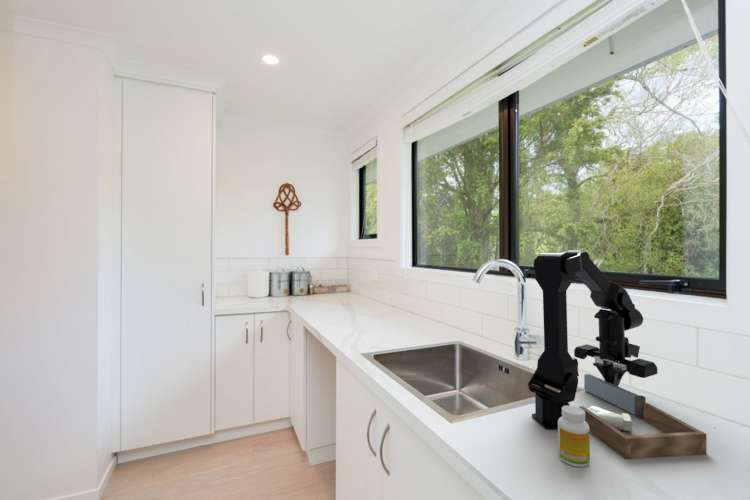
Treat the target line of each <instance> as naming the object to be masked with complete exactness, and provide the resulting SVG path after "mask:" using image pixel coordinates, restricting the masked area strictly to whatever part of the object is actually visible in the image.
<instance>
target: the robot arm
mask: <svg viewBox="0 0 750 500" xmlns="http://www.w3.org/2000/svg"><path fill="white" fill-rule="evenodd" d="M533 271H534V278H535V281H536V282H537V284H538V286H539V287H540V289H541V291H542V310H543V345H544V346H543V347H544V348H543V349H544V350H543V352H542V353H541V355H539V357H538V358H537V362H536V363H537V365H536V369H535V371H534V372H533V374H532V376H531V378H530V379H529V381H528V383H527V386H528V390H529V392H531V393H534V396H535V397H534V398H535V402H534V404H535V406H534V407H535V408H534V409H535V412H534V413H531V417H532V418H533V419H534V420H536V421H537V423H539V424H540V425H541V426H542V427H543V428H544V429H546V430H553V429H554V430H558V420H559V418H560V417H562V407H563V406H567V405H570V406H571V404H570V403H571V402H575V399H576V396H577V395H576V394H577V391H578V390H577V389H578V384H579V378H578V377H579V376H580V375H579V361H578V359H580V360H585V359H586V358H588V357H591V358H593V359H594V362H593V363H592V365H593V366H594V367H596V369H597V370H598V372H599V374H600V375H601V376H602V378H603V380H604V381H607V382H609V383H611V384H614V385H616V386H618V387H619V385H620V383H621V380H622V378H624V375H625V373H628V374H629V375H631V376H635V377H638V378H640V379H641V378H642V379H646V378H649V377H652V376H655V375H658V366H657V365H656V363H655V362H654V361H650V360H646V359H642V358H639V355H640V354H639V353H640V348H641V346H640V345H636V344H633V343H630V341H629V337H626V336H625V331H629V330H632V329H635V328H638V327H640V326H642V324H643V323H644V317H643V314H642V312H640V311H639V310H638V309H637V308H636V305H635V304H634V303H633V301H632V299H631V296H630V295H629V293H628V291H627V290H626V289H625V287H624V286H621V284H619V283H616V282H613V281H611V280H609V279H608V278H607V277H606V275H605V274H604V273H603V272H602V271H601V269H600V268H599V267H598V266H597V265H596V264H595V263H594V261H593V260H592V258H590V254H589V252H587V251H585V250H566V251H563V252H559V253H558V252H552V253H551V252H542V253H541V252H540V253H539V254H538V255H537V256H536V258H534V260H533ZM575 275H576V277H577V278H578V279H579V280H580V281H581V282H582V283H583V284H584V285H585V287H587V289H588V290H589V292H590V294H589V295H590V296H589V297H590V299H591V300H592V302H593V304H594V305H595V306H596V307H597V308H600V309H599V310H598V311H597V312H596V313H594V315H593V317H594V318H595V319H598V336H595V341H596V342H598V344H599V347H598V346H595V345H591V344H583V345H579V346H576V347H575V348H574V350H573V356H574V357H573V356H571V355H570V352H569V348H568V347H569V345H568V342H569V341H568V339H569V338H568V311H567V310H568V308H567V307H568V305H567V304H568V303H567V300H568V299H567V291H568V290H569V288H570V286H571V285H572V283H573V282H574V279H575ZM632 357H633V358H637V359H633V360H629V359H626V358H632ZM555 389H556V390H555Z"/></svg>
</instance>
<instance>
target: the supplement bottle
mask: <svg viewBox="0 0 750 500" xmlns="http://www.w3.org/2000/svg"><path fill="white" fill-rule="evenodd" d="M579 407H580V406H575V405H571V404H570V405H567V406H563V407H562V417H560V418H559V420H558V429H557V455H558V458H559V459H560V460H561V461H562V462H564V463H565V464H567V465H569V466H572V467H577V468H583V467H587V466H589V464H590V459H591V457H590V456H591V455H590V454H591V451H590V450H591V449H590V448H591V446H590V445H591V444H590V443H591V442H590V433H591V432H590V430H589V425H588V423H587V422H586V421H585V411H584V410H583V409H581V408H579Z"/></svg>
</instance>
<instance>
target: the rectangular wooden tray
mask: <svg viewBox="0 0 750 500" xmlns="http://www.w3.org/2000/svg"><path fill="white" fill-rule="evenodd" d="M637 395H638V396H637V414H636V417H637V418H638V419H641V420H643V421H644V422H646V423H648V424H650V425H651V426H653V427H655V428H656V429H658V430H660V431H661V432H663V433H651V434H650V433H649V434H634V435H633V434H632V435H626V433H623V432H622V431H621V430H618V429H616V428H615V427H613V426H612V425H610V424H609V423H607V422H606V421H604V420H603V419H601V418H600V417H598V416H597V415H595V414H594V413H592V412H591V411H590V410H588V409H589V408H587V407H585V406H583V405H582V406H578V407H579V408H581V409H583V410H584V411H585V421H586V422H587V423H588V425H589V430H590V432H589V433H591V434H593V435H594V436H595V437H596V438H597V439H599V440H600V441H602V442H603V443H604V444H605V445H606V446H608V447H609V448H610V449H612V450H613V451H615V452H616V453H617V454H619V456H621V457H623V459H625V460H632V459H650V458H664V457H666V458H667V457H668V458H669V457H681V456H683V457H684V456H696V455H707V433H705V432H703V431H701V430H700V429H698V428H696V427H694V426H692V425H690V424H689V423H686V422H685V421H682V420H681V419H679V418H677V417H675V416H673V415H671V414H669V413H667V412H665V411H663V410H661V409H659V408H657V407H656V406H654V405H652V404H650V403H649V402H646V396H644V395H641V394H640V395H639V394H637Z"/></svg>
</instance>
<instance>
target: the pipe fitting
mask: <svg viewBox="0 0 750 500" xmlns="http://www.w3.org/2000/svg"><path fill="white" fill-rule="evenodd" d="M587 409H588V410H590V411H591V412H592V413H594V414H595V415H597V416H598V417H600V418H601V419H603V420H604V421H606V422H607V423H609V424H610V425H612V426H613V427H615V428H616V429H617V430H619V431H621V432H622V431H623V432H630V433H631V432H632V431H633V422H632V418H631V416H630V414H629V413H623V412H622V413H616V412H614V411H610V410H607V409H606V408H605V409H604V408H602V407H599V406H596V405H591V406H590V407H589V408H587Z"/></svg>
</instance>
